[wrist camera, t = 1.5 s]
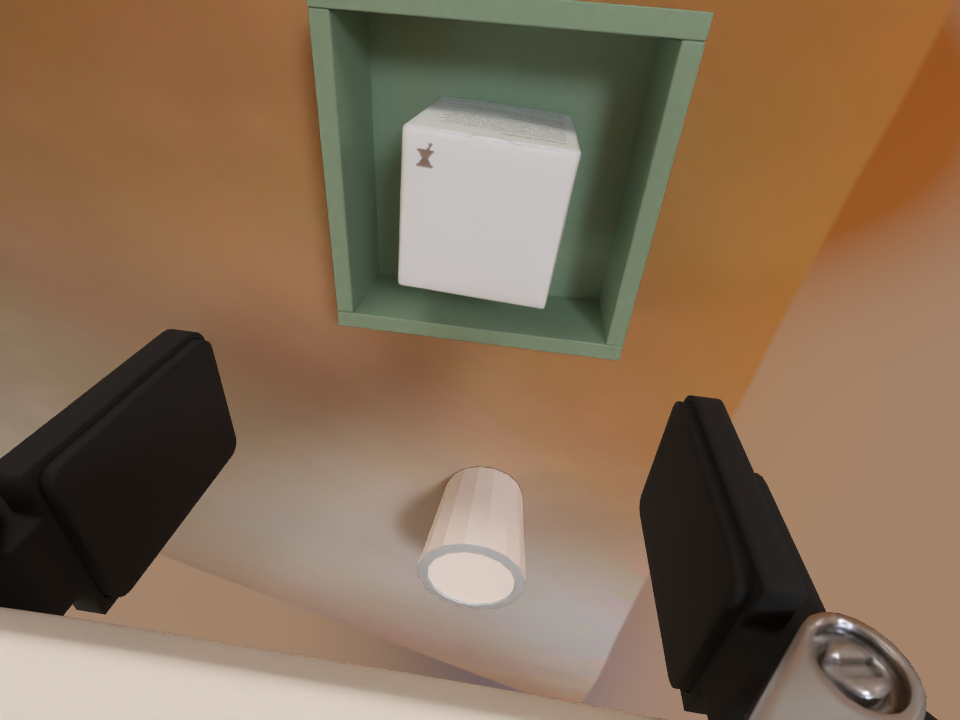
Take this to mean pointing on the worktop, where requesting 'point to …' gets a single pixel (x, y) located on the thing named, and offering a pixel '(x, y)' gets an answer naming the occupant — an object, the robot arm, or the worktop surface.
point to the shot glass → (476, 542)
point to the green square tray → (517, 82)
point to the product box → (485, 199)
